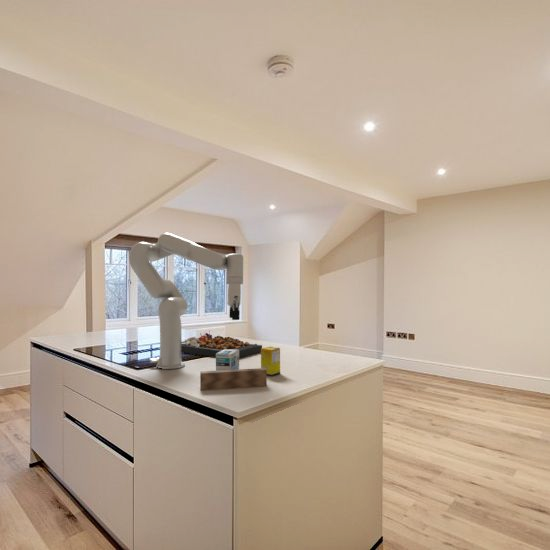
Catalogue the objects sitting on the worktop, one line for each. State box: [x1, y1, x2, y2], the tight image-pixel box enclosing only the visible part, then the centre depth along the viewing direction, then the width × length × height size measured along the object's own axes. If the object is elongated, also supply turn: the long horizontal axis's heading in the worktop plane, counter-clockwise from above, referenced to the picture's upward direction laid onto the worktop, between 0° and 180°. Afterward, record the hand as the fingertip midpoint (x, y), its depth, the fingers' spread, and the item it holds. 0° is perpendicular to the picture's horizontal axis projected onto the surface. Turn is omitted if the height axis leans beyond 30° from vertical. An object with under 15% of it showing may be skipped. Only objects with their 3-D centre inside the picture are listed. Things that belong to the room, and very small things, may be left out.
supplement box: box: [260, 346, 281, 377], centre depth 154 cm, size 6×6×11 cm
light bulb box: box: [215, 349, 240, 371], centre depth 148 cm, size 11×7×11 cm, turn 168°
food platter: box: [181, 331, 263, 359], centre depth 205 cm, size 45×25×10 cm, turn 57°
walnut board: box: [199, 367, 268, 391], centre depth 135 cm, size 24×3×6 cm, turn 102°
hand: (234, 318), depth 166 cm, fingers open, 9 cm apart
